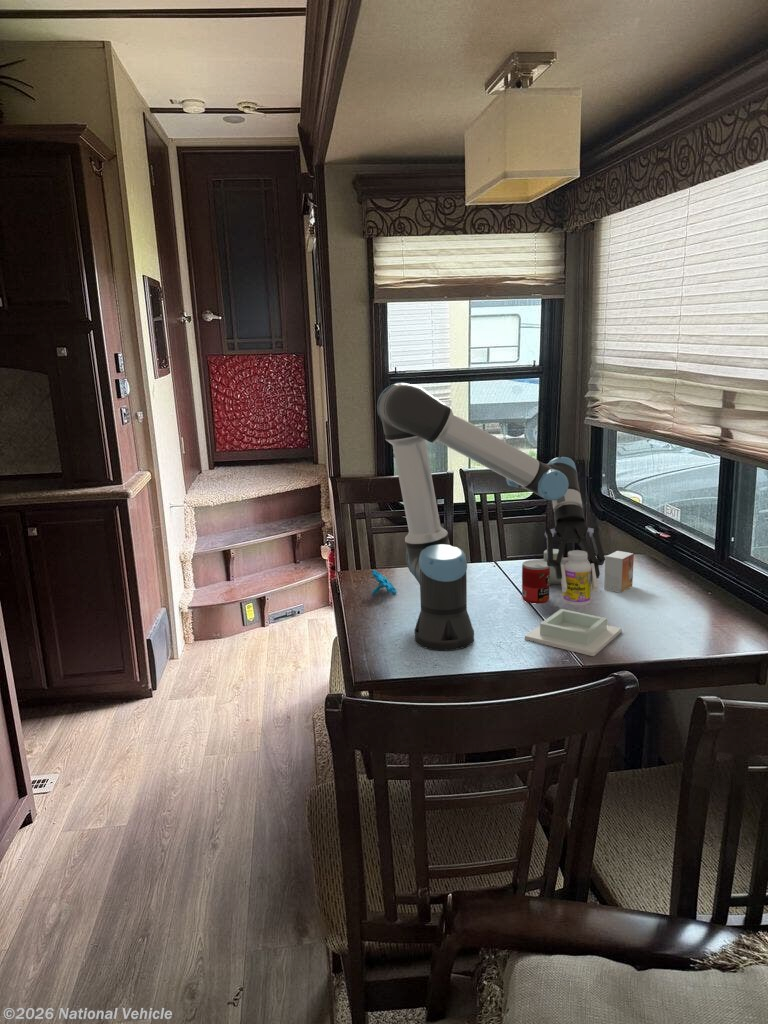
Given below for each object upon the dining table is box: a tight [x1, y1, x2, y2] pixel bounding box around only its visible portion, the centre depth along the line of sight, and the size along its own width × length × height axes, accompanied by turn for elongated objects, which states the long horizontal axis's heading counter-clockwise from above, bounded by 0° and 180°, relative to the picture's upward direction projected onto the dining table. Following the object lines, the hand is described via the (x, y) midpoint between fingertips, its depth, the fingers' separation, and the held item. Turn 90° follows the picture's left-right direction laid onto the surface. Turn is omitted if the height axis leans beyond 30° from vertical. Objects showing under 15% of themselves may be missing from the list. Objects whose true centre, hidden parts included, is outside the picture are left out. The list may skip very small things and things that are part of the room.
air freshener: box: [543, 548, 564, 585], centre depth 216 cm, size 11×8×10 cm
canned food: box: [521, 559, 551, 605], centre depth 200 cm, size 8×8×11 cm
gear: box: [371, 569, 398, 595], centre depth 211 cm, size 11×6×10 cm
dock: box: [524, 608, 622, 657], centre depth 174 cm, size 18×18×4 cm
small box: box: [603, 550, 635, 593], centre depth 208 cm, size 8×6×10 cm
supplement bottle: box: [562, 549, 592, 606], centre depth 172 cm, size 7×7×13 cm
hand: (580, 589), depth 169 cm, fingers closed on supplement bottle, 7 cm apart
